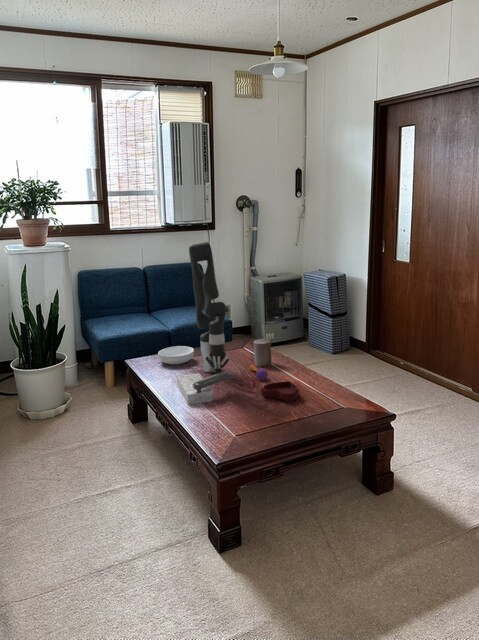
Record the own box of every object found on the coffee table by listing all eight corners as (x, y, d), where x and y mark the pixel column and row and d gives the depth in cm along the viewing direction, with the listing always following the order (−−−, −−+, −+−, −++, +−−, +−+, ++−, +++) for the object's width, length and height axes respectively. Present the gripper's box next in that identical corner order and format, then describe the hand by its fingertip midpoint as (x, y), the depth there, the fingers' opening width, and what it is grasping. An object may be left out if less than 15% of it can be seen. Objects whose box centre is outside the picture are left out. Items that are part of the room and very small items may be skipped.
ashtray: (306, 393, 272) (306, 383, 270) (292, 405, 258) (291, 394, 257) (274, 387, 281) (273, 378, 279) (258, 399, 267) (258, 389, 266)
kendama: (258, 362, 309) (269, 370, 290) (256, 372, 309) (268, 381, 290) (247, 361, 307) (259, 369, 288) (246, 372, 308) (257, 381, 289)
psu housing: (199, 382, 293) (198, 369, 291) (212, 400, 267) (211, 387, 265) (177, 385, 290) (176, 373, 288) (188, 404, 264) (187, 391, 262)
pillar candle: (274, 362, 318) (273, 337, 315) (266, 367, 310) (265, 341, 307) (260, 360, 323) (258, 335, 320) (251, 365, 315) (250, 340, 312)
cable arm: (232, 377, 277) (232, 371, 276) (197, 390, 262) (197, 383, 261) (225, 375, 280) (225, 369, 280) (191, 387, 265) (190, 381, 265)
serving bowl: (184, 354, 342) (184, 343, 340) (200, 362, 324) (200, 351, 323) (153, 361, 331) (152, 350, 330) (168, 370, 314) (167, 358, 312)
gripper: (232, 340, 277) (233, 373, 281) (206, 339, 281) (208, 372, 285) (227, 344, 270) (228, 378, 274) (201, 343, 274) (203, 376, 278)
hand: (218, 375), depth 279 cm, fingers closed
